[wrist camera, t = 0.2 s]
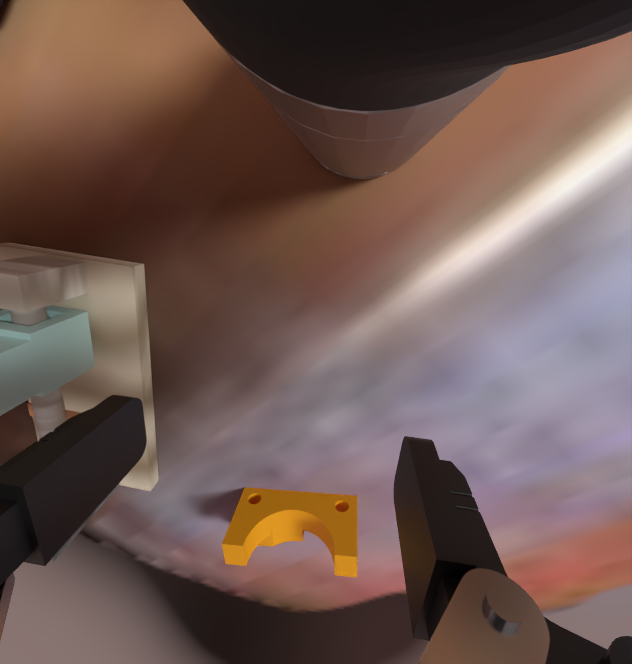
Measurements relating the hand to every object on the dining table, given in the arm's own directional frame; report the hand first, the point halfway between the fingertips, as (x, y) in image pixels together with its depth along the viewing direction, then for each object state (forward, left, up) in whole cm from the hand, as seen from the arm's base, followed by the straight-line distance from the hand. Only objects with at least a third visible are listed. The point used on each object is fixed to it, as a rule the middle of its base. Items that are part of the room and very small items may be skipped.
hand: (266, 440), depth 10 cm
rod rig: (+12, -21, -18) cm, 30 cm away
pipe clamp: (+24, +1, -18) cm, 30 cm away
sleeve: (+6, -21, -15) cm, 27 cm away
